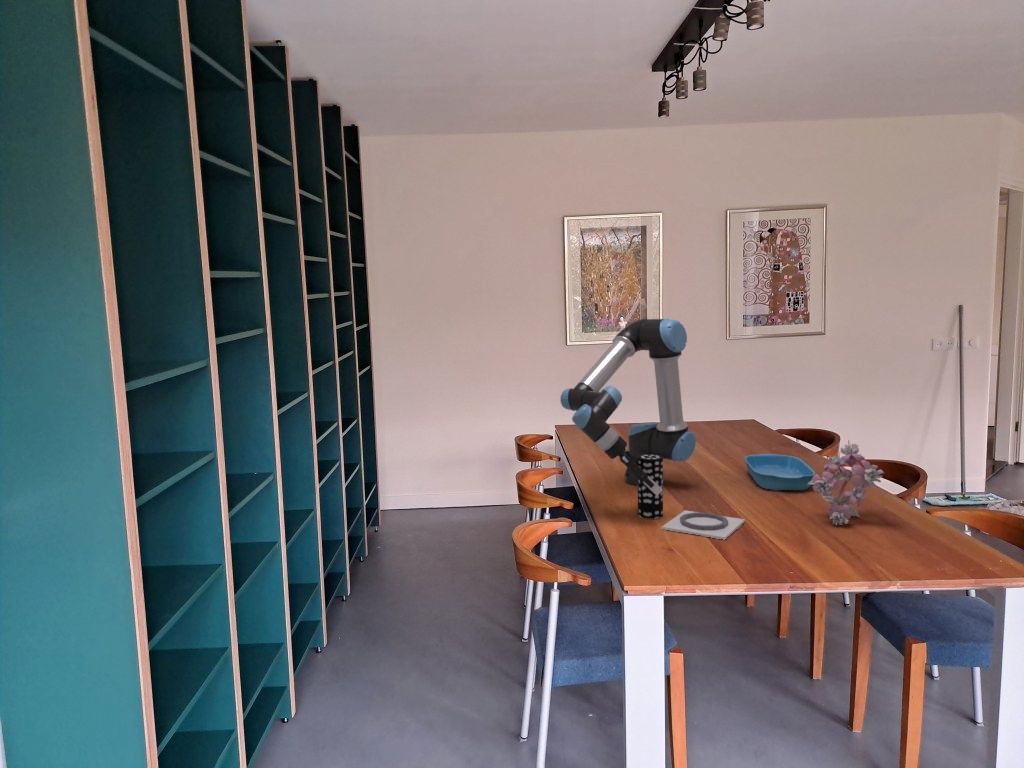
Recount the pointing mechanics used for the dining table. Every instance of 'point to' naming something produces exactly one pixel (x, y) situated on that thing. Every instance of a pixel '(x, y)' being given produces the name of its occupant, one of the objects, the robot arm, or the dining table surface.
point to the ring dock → (704, 524)
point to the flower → (845, 483)
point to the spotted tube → (646, 498)
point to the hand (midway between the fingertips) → (657, 487)
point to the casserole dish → (779, 471)
